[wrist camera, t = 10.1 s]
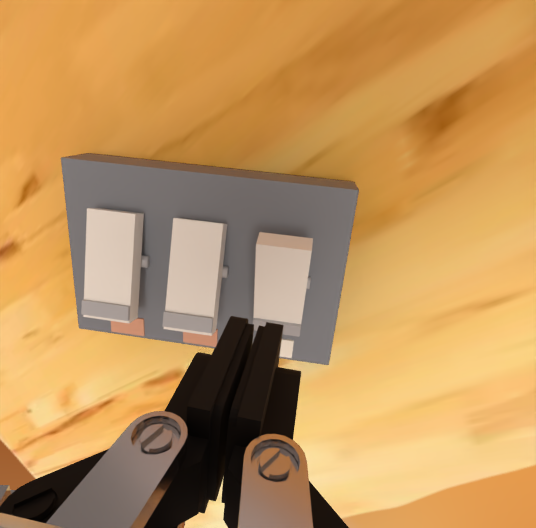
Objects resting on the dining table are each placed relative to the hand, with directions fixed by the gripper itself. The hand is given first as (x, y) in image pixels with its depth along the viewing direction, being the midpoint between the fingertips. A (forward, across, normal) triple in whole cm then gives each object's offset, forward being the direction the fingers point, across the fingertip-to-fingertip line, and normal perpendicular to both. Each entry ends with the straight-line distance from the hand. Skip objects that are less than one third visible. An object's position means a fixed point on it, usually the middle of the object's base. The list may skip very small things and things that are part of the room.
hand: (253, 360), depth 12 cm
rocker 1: (+18, +15, +7) cm, 24 cm away
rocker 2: (+18, +8, +6) cm, 20 cm away
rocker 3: (+18, +1, +6) cm, 19 cm away
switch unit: (+24, +8, +7) cm, 26 cm away
